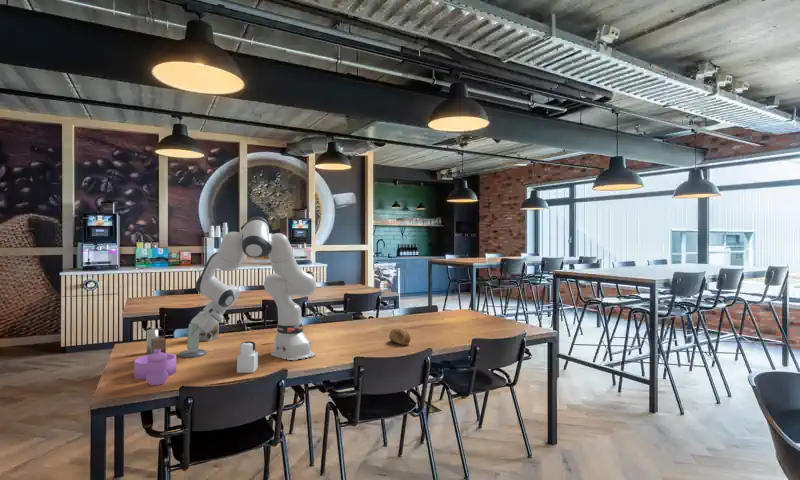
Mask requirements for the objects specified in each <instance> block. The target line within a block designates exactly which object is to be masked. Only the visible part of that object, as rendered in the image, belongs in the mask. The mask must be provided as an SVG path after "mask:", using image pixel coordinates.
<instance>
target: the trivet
mask: <svg viewBox="0 0 800 480" xmlns="http://www.w3.org/2000/svg"><path fill="white" fill-rule="evenodd" d="M206 354H207V349H202V348H201V349H200V348H198V350H188V349H186V350H183V351H180V352H178V355H177V356H178V357H179V358H182V359H192V358H199V357H203V356H205V355H206Z"/></svg>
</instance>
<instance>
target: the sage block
mask: <svg viewBox="0 0 800 480" xmlns="http://www.w3.org/2000/svg"><path fill="white" fill-rule="evenodd" d="M198 328H199V327H198V324H196V323H188V330H187V331H188V332H187V345H186V350H198V349H200V348H199V345H200V340H199V335H200V333H199V334H198V335H197V336H196V337H193V336H192V333H193V332H195V331H196V330H197V329H198Z"/></svg>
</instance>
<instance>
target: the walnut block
mask: <svg viewBox="0 0 800 480" xmlns="http://www.w3.org/2000/svg"><path fill="white" fill-rule="evenodd" d="M166 346H167V339H166V338H165V337H159V338H153V339H151V354H152V353H154V350H155V349H161V352H163V353H165V354H167V350H166V349H167V347H166Z"/></svg>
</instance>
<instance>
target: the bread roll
mask: <svg viewBox="0 0 800 480" xmlns="http://www.w3.org/2000/svg"><path fill="white" fill-rule="evenodd" d="M389 340H390V341H392V342H393V343H396V344H399V345H402V346H404V345H405V346H406V345H409V344H410V342H411V336H410V334H409V332H408V331H407V329H404V328H401V327H400V328H399V327H398V328H396V327H395V328H392V329H391V330H390V332H389Z"/></svg>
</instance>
